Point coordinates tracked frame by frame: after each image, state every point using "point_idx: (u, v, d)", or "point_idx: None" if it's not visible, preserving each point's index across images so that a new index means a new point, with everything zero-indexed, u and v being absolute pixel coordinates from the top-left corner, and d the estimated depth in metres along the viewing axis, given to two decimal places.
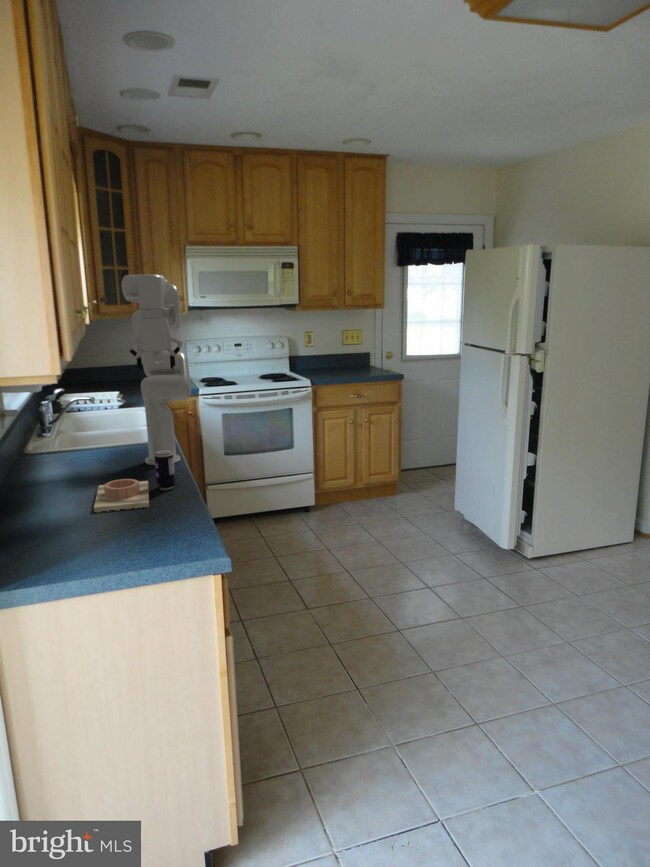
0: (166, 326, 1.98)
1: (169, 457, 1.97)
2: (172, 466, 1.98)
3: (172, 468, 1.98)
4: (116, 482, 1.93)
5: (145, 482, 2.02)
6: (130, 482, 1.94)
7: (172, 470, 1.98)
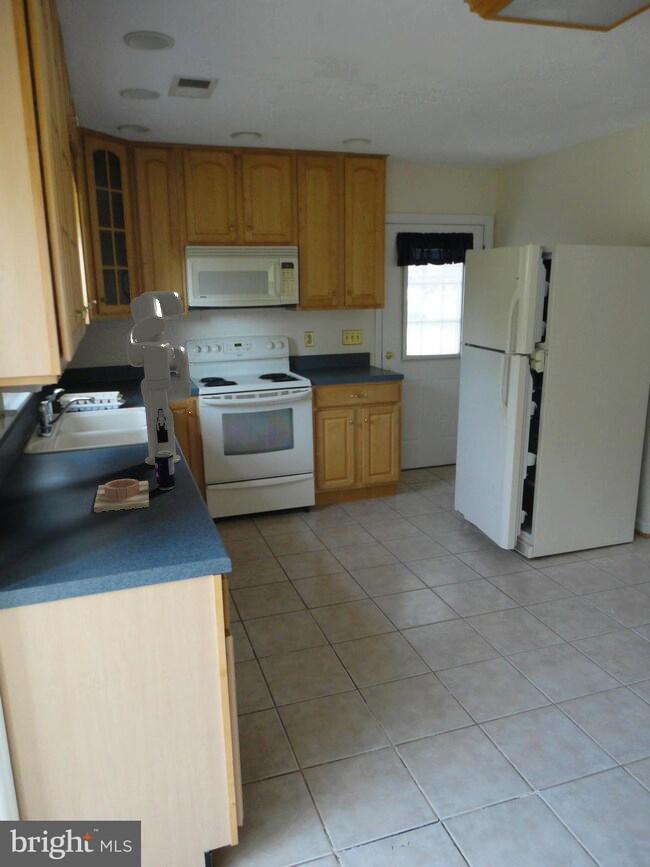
0: None
1: (169, 457, 1.97)
2: (172, 466, 1.98)
3: (172, 468, 1.98)
4: (116, 482, 1.93)
5: (145, 482, 2.02)
6: (130, 482, 1.94)
7: (172, 470, 1.98)
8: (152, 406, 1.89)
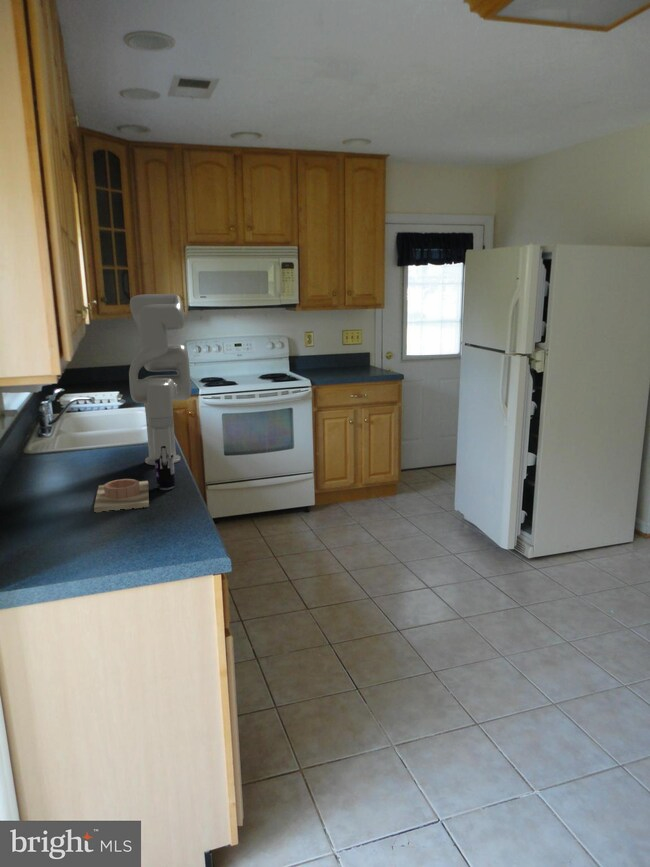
0: None
1: None
2: (172, 466, 1.98)
3: (172, 468, 1.98)
4: (116, 482, 1.93)
5: (145, 482, 2.02)
6: (130, 482, 1.94)
7: (172, 470, 1.98)
8: (155, 444, 1.92)
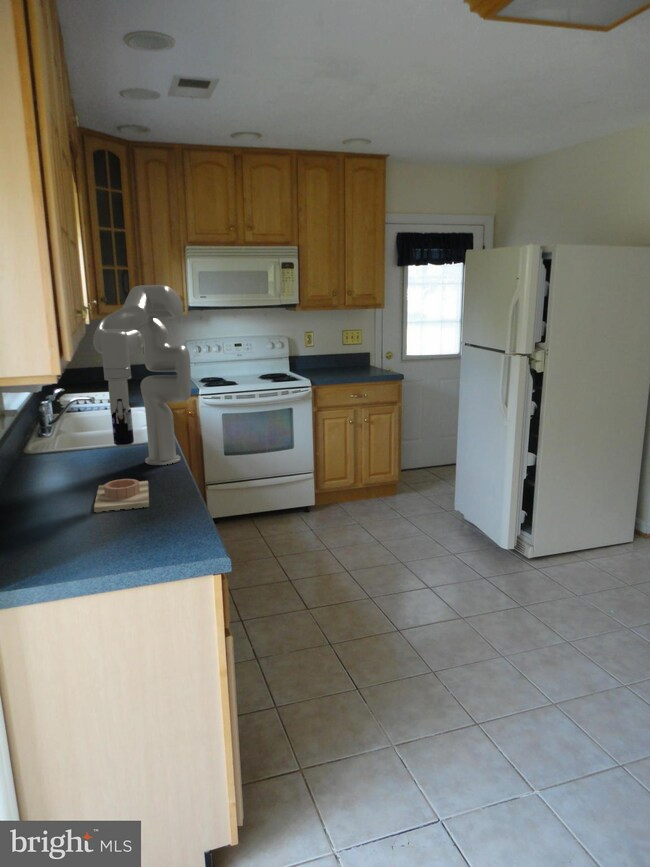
0: None
1: (127, 412, 1.85)
2: (130, 421, 1.87)
3: (130, 423, 1.87)
4: (116, 482, 1.93)
5: (145, 482, 2.02)
6: (130, 482, 1.94)
7: (130, 426, 1.87)
8: (111, 396, 1.81)
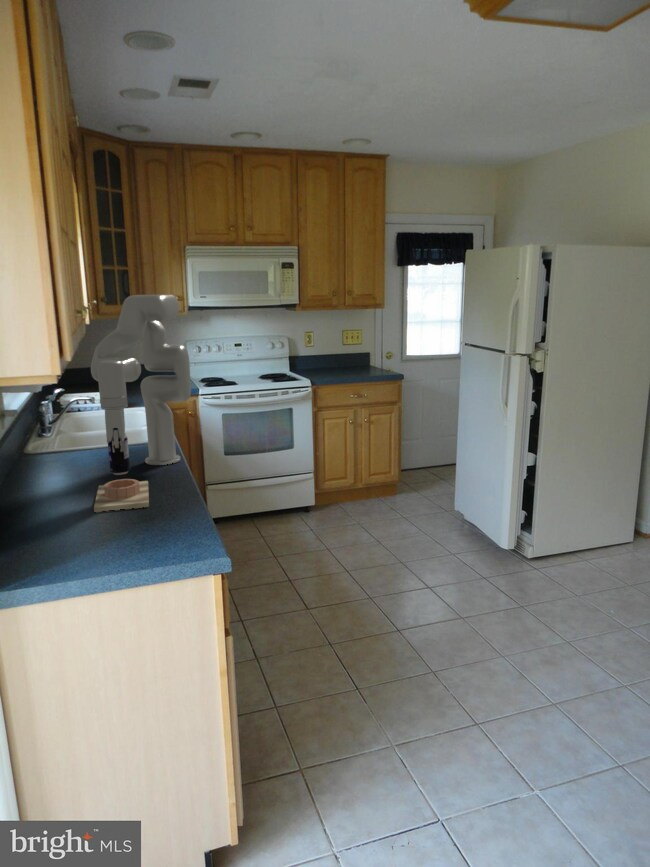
0: None
1: None
2: (126, 449, 1.87)
3: (126, 452, 1.87)
4: (116, 482, 1.93)
5: (145, 482, 2.02)
6: (130, 482, 1.94)
7: (126, 454, 1.87)
8: (107, 425, 1.81)
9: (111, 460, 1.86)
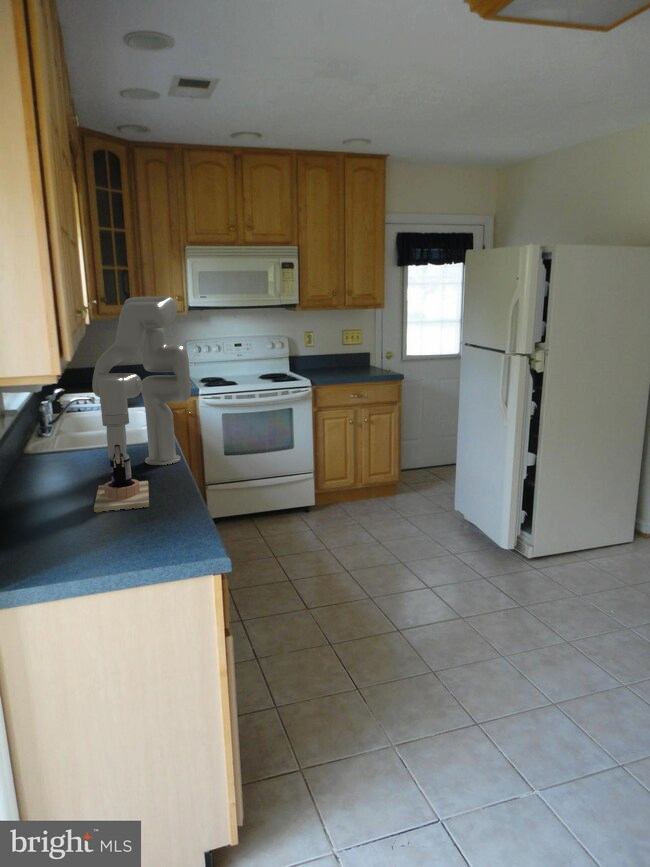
0: None
1: (125, 461, 1.87)
2: (128, 470, 1.89)
3: (128, 472, 1.89)
4: None
5: (145, 482, 2.02)
6: None
7: (128, 475, 1.89)
8: (108, 442, 1.82)
9: (114, 481, 1.88)
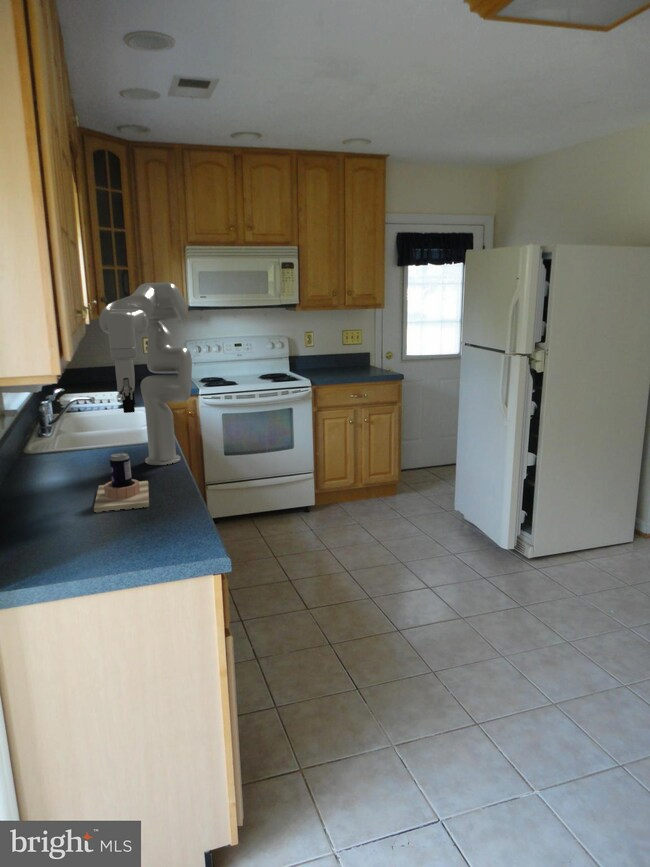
0: None
1: (125, 461, 1.87)
2: (128, 470, 1.89)
3: (128, 472, 1.89)
4: None
5: (145, 482, 2.02)
6: None
7: (128, 475, 1.89)
8: (117, 375, 1.87)
9: (113, 481, 1.88)
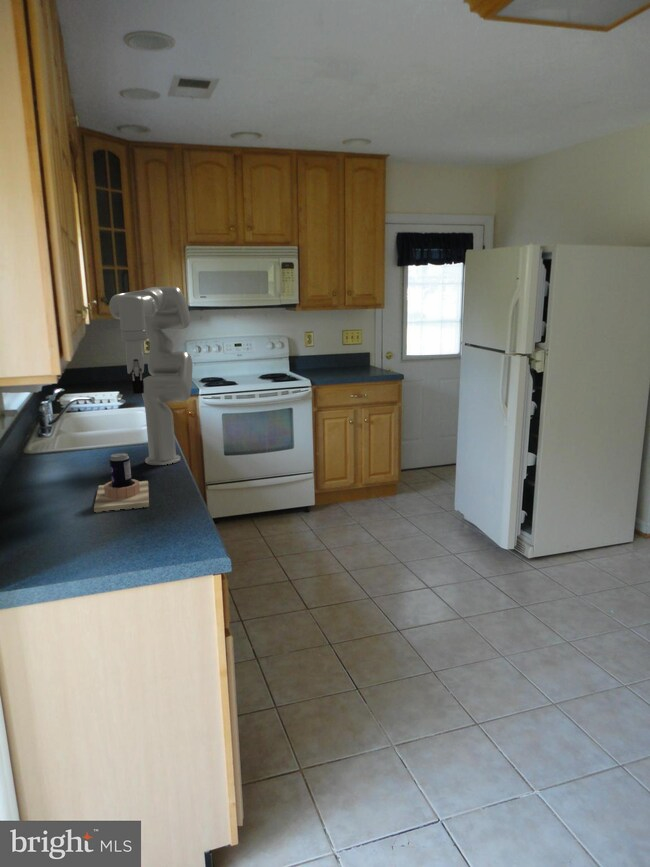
0: None
1: (125, 461, 1.87)
2: (128, 470, 1.89)
3: (128, 472, 1.89)
4: None
5: (145, 482, 2.02)
6: None
7: (128, 475, 1.89)
8: (127, 357, 1.92)
9: (113, 481, 1.88)
